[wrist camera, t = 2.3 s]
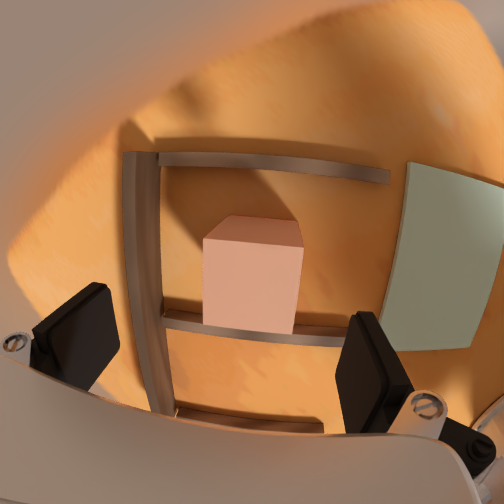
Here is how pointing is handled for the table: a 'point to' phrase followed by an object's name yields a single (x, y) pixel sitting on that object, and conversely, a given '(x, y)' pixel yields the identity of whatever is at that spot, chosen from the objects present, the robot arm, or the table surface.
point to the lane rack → (155, 322)
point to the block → (252, 274)
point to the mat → (442, 260)
